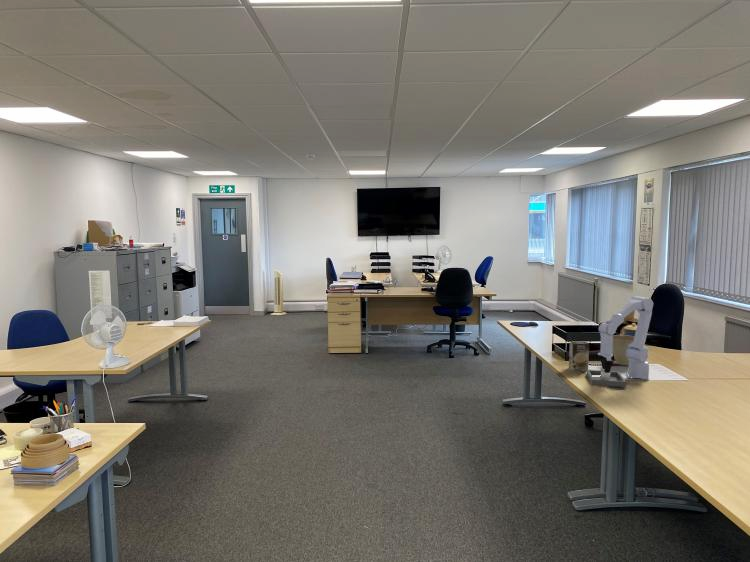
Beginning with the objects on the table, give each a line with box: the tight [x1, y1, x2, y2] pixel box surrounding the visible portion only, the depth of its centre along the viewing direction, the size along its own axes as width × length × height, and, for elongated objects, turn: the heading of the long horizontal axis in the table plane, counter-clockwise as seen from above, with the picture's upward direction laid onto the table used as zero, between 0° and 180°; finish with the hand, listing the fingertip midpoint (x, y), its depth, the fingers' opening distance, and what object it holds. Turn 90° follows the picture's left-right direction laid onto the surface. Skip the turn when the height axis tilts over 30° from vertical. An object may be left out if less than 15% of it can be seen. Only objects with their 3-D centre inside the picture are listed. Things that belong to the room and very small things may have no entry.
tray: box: [586, 369, 627, 388], centre depth 253 cm, size 16×18×3 cm
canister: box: [622, 322, 640, 350], centre depth 317 cm, size 13×13×18 cm
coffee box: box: [568, 340, 590, 372], centre depth 273 cm, size 9×6×16 cm
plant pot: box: [612, 334, 634, 366], centre depth 283 cm, size 15×15×16 cm
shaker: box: [600, 367, 610, 380], centre depth 252 cm, size 5×5×6 cm
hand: (605, 370), depth 252 cm, fingers open, 7 cm apart
